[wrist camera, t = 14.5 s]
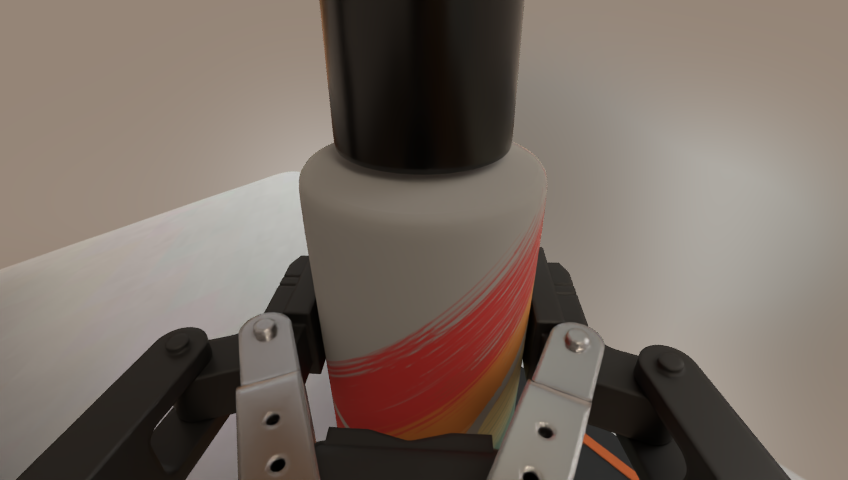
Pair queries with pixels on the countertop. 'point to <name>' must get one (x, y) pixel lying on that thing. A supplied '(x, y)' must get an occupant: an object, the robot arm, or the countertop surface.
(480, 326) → the lotion bottle
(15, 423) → the countertop surface
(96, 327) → the countertop surface
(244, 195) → the countertop surface
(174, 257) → the countertop surface
